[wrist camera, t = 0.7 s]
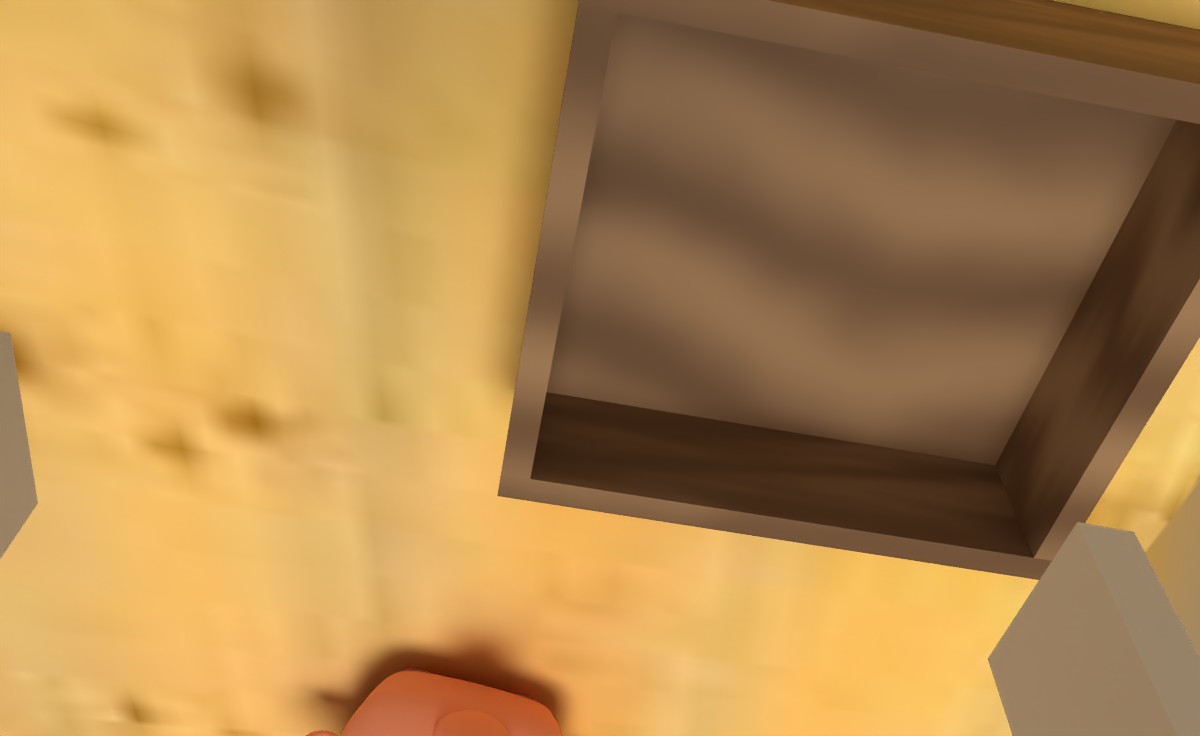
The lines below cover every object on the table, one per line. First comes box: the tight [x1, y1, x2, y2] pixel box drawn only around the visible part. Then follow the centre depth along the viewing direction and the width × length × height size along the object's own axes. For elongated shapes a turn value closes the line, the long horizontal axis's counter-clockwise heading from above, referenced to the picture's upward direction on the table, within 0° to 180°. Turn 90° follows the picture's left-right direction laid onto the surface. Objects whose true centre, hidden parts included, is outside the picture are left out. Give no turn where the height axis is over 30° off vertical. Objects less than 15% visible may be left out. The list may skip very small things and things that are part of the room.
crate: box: [498, 0, 1200, 580], centre depth 34 cm, size 18×20×6 cm
